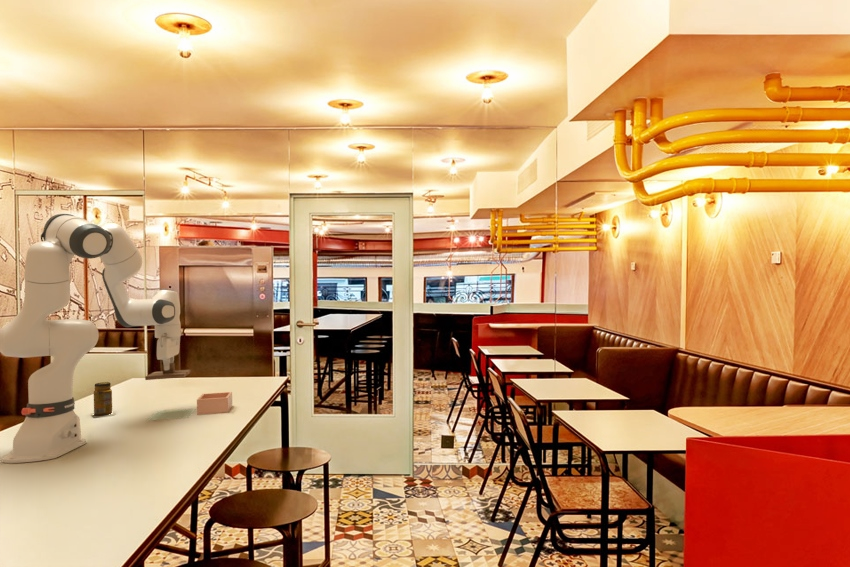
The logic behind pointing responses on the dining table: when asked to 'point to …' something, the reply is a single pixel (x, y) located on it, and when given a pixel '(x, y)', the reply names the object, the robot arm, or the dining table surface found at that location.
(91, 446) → the dining table surface
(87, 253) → the robot arm
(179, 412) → the pale green square mat
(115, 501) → the dining table surface
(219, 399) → the pink rectangular planter
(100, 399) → the condiment
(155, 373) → the walnut lid
